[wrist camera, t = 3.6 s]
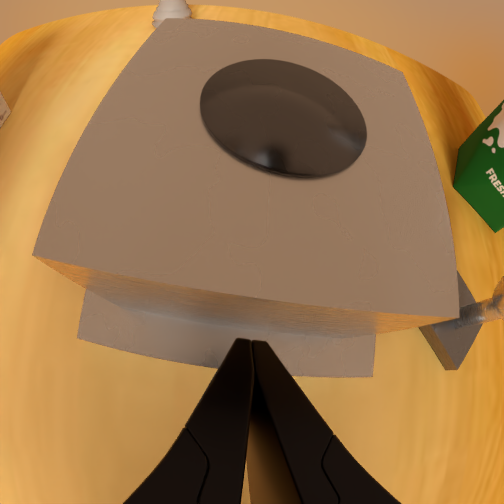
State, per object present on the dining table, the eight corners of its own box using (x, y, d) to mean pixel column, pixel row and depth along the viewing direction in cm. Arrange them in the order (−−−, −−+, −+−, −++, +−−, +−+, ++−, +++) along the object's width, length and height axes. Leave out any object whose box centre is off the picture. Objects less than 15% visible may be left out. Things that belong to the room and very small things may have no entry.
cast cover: (361, 375, 14) (494, 379, 6) (86, 339, 13) (-37, 314, 4) (358, 155, 19) (423, 66, 11) (153, 116, 18) (142, 2, 9)
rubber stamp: (445, 370, 15) (562, 356, 6) (412, 318, 16) (538, 280, 7) (474, 321, 17) (573, 291, 8) (445, 273, 18) (547, 222, 9)
